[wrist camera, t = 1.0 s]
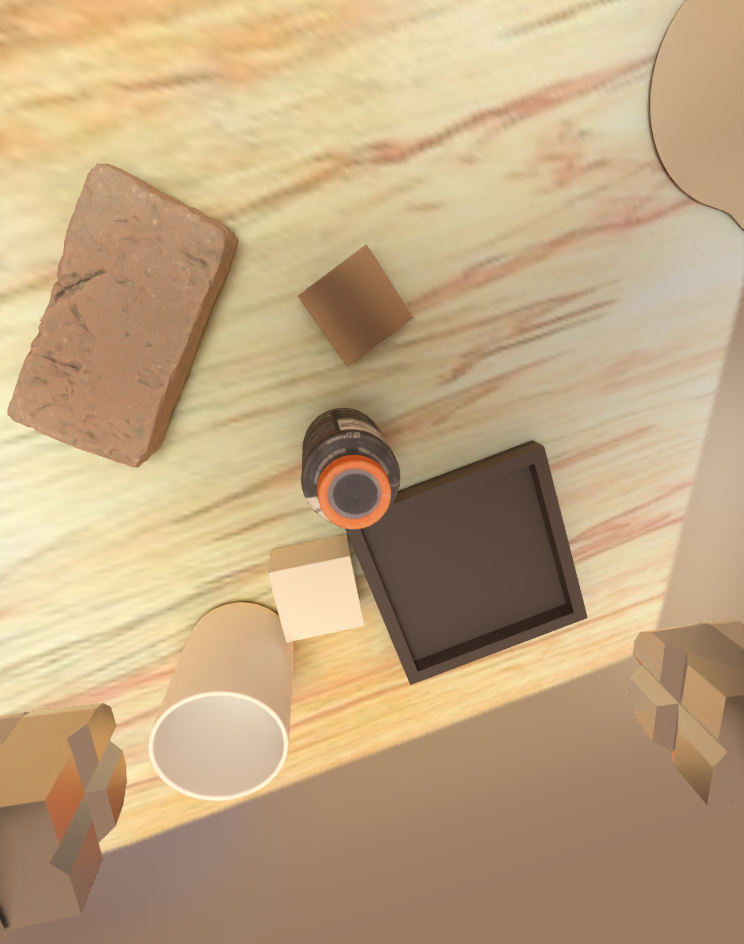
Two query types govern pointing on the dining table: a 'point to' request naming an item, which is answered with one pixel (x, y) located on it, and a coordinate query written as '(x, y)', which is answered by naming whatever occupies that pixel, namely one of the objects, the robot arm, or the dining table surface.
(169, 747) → the mug
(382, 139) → the dining table surface
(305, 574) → the ceramic block
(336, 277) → the walnut cube
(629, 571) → the dining table surface
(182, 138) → the dining table surface
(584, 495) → the dining table surface
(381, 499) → the pill bottle
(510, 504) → the tray
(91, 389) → the brick
